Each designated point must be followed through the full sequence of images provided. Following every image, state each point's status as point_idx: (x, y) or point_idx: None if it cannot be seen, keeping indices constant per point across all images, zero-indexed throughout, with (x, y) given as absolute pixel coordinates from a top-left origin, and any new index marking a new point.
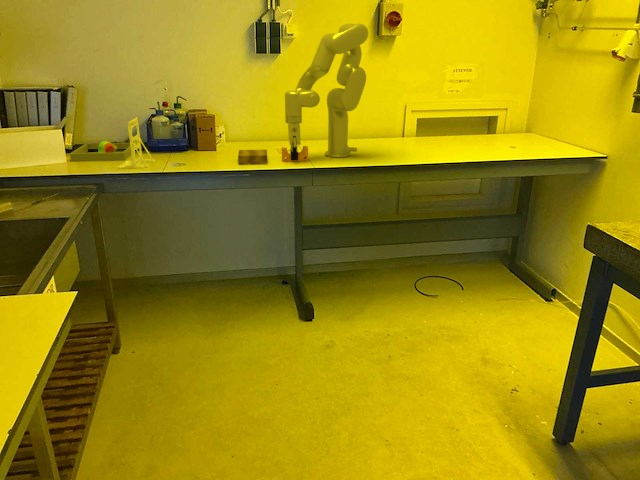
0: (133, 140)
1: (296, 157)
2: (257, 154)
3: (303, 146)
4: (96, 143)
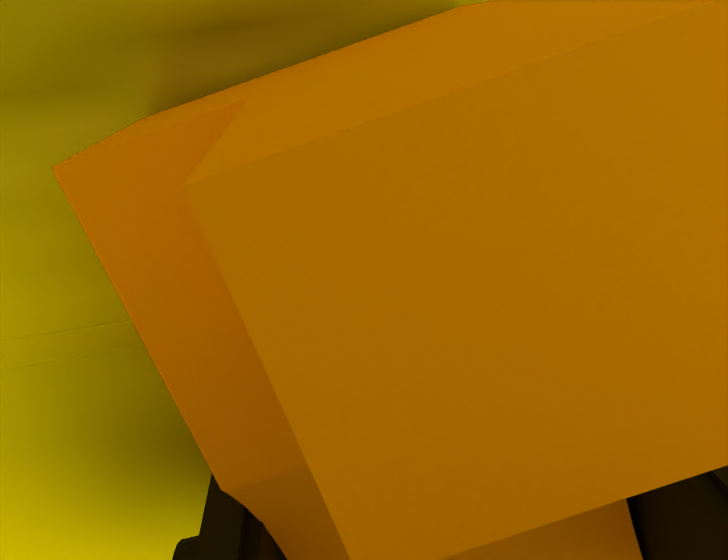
0: None
1: None
2: None
3: (600, 498)
4: None
